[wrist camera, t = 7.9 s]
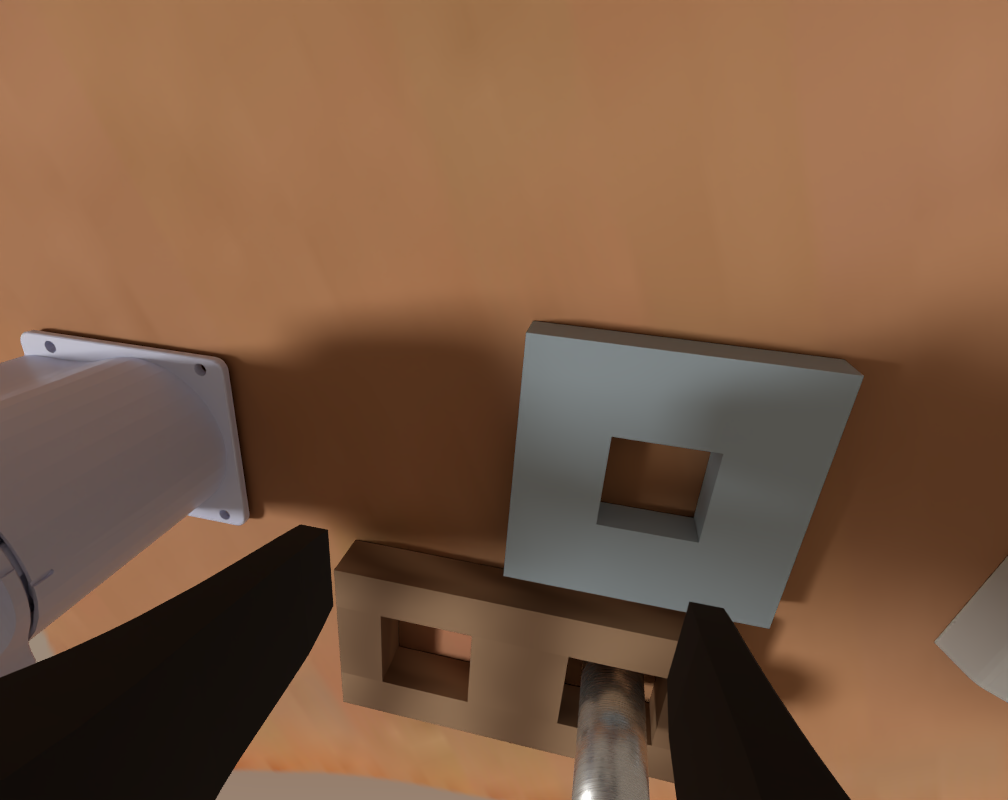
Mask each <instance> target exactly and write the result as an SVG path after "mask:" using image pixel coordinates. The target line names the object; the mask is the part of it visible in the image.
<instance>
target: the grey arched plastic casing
mask: <svg viewBox="0 0 1008 800" xmlns="http://www.w3.org/2000/svg"><path fill="white" fill-rule="evenodd" d="M934 643H935V644H936V645H937V646H938V647H939V648H940V649H941V650H942V651H943V652H944V653H945V654H946V655H947V656H948V657H949V658H950V659H951V660H952V661H953V662H954V663H955V664H956V665H957V666H958V667H959V668H960V669H961V670H962V671H963V672H964V673H965V674H966V675H967V676H968V677H969V678H970V679H971V680H972V681H974V682H975V683H976V684H977V685H978V686H980V687H982V688H983V689H985V690H986V691H988V692H990V693H992V694H993V695H995V696H997V697H999V698H1000V699H1002V700H1004V701H1006V702H1007V703H1008V556H1007V557H1006V558H1005V560H1004V561H1003V562H1002V563H1001V564H1000V566H999V567H998V568H997V569H996V570H995V571H994V573H993V574H992V575H991V576H990V577H989V578H988V580H987V581H986V582H985V583H984V584H983V585H982V587H981V588H980V589H979V590H978V591H977V592H976V594H975V595H974V596H973V597H972V598H971V599H970V601H969V602H968V603H967V604H966V605H965V606H964V608H963V609H962V610H961V611H960V612H959V613H958V615H957V616H956V617H955V618H954V619H953V620H952V622H951V623H950V624H949V625H948V626H947V628H946V629H945V630H944V631H943V632H942V633H941V635H940V636H939V637H938V638H937V639H936V640H935V642H934Z"/></svg>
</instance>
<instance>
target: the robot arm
mask: <svg viewBox="0 0 1008 800" xmlns="http://www.w3.org/2000/svg"><path fill="white" fill-rule="evenodd" d="M20 339H21V344H22V347H23V350H24V354H25V356H22V357H19V358H15V359H12V360H9V361H6V362H2V363H0V800H215V799H216V798H217V796H218V794H219V792H220V790H221V789H222V787H223V785H224V784H225V782H226V780H227V779H228V777H229V775H230V774H231V772H232V771H233V769H234V767H235V766H236V764H237V762H238V761H239V759H240V758H241V756H242V755H243V753H244V752H245V750H246V749H247V747H248V746H249V744H250V743H251V741H252V740H253V738H254V737H255V735H256V734H257V732H258V731H259V729H260V728H261V726H262V725H263V723H264V722H265V720H266V719H267V717H268V716H269V714H270V713H271V711H272V710H273V708H274V707H275V705H276V704H277V702H278V701H279V699H280V698H281V696H282V695H283V693H284V692H285V690H286V689H287V687H288V685H289V684H290V682H291V681H292V679H293V678H294V676H295V675H296V673H297V672H298V670H299V669H300V667H301V666H302V664H303V662H304V661H305V659H306V658H307V656H308V655H309V653H310V651H311V649H312V647H313V645H314V643H315V641H316V640H317V638H318V636H319V634H320V632H321V630H322V628H323V626H324V624H325V622H326V620H327V617H328V615H329V613H330V611H331V609H332V607H333V595H332V581H331V567H330V553H329V539H328V530H326V529H321V528H316V527H311V526H306V525H299V526H297V527H295V528H293V529H291V530H290V531H288V532H286V533H284V534H283V535H281V536H279V537H278V538H276V539H274V540H273V541H271V542H269V543H267V544H266V545H264V546H262V547H261V548H259V549H257V550H256V551H254V552H252V553H251V554H249V555H247V556H246V557H244V558H242V559H241V560H239V561H237V562H236V563H234V564H232V565H230V566H229V567H227V568H225V569H224V570H222V571H220V572H218V573H217V574H215V575H213V576H212V577H210V578H208V579H206V580H205V581H203V582H201V583H200V584H198V585H196V586H194V587H192V588H190V589H189V590H187V591H185V592H183V593H181V594H179V595H177V596H176V597H174V598H172V599H170V600H168V601H166V602H164V603H163V604H161V605H159V606H157V607H155V608H153V609H151V610H150V611H148V612H146V613H144V614H142V615H140V616H138V617H136V618H134V619H132V620H130V621H128V622H126V623H124V624H122V625H120V626H118V627H116V628H114V629H112V630H110V631H108V632H106V633H104V634H101V635H99V636H97V637H95V638H93V639H90V640H88V641H86V642H84V643H82V644H79V645H77V646H75V647H73V648H71V649H68V650H66V651H64V652H62V653H59V654H57V655H55V656H52V657H50V658H48V659H45V660H42V661H40V662H37V663H36V660H35V658H34V656H33V654H32V652H31V649H30V647H29V642H28V641H29V640H31V639H32V638H33V637H34V636H36V635H37V634H38V633H40V632H41V631H42V630H43V629H45V628H46V627H47V626H48V625H50V624H51V623H52V622H53V621H55V620H56V619H57V618H58V617H60V616H61V615H62V614H64V613H65V612H66V611H67V610H69V609H70V608H71V607H72V606H74V605H75V604H76V603H77V602H79V601H80V600H81V599H82V598H84V597H85V596H86V595H87V594H89V593H90V592H91V591H92V590H94V589H95V588H96V587H98V586H99V585H100V584H101V583H103V582H104V581H105V580H106V579H108V578H109V577H110V576H111V575H113V574H114V573H115V572H116V571H118V570H119V569H120V568H121V567H123V566H124V565H125V564H126V563H128V562H129V561H130V560H132V559H133V558H134V557H135V556H137V555H138V554H139V553H140V552H142V551H143V550H144V549H145V548H147V547H148V546H149V545H150V544H152V543H153V542H154V541H155V540H157V539H158V538H159V537H160V536H162V535H163V534H164V533H166V532H167V531H168V530H169V529H171V528H172V527H173V526H174V525H176V524H177V523H178V522H179V521H181V520H182V519H183V518H184V517H186V516H187V515H188V516H193V517H198V518H203V519H208V520H213V521H218V522H223V523H228V524H233V525H242V524H244V523H245V522H246V521H247V520H248V519H249V515H250V514H249V507H248V500H247V493H246V487H245V480H244V473H243V466H242V459H241V452H240V445H239V439H238V432H237V425H236V418H235V411H234V404H233V397H232V391H231V384H230V377H229V370H228V367H227V365H226V364H225V362H224V361H223V360H221V359H220V358H217V357H213V356H206V355H199V354H193V353H186V352H179V351H173V350H166V349H159V348H152V347H146V346H139V345H132V344H125V343H119V342H112V341H105V340H98V339H92V338H85V337H78V336H71V335H65V334H58V333H51V332H45V331H38V330H31V331H27V332H24V333H23V334H22V335H21V338H20ZM201 364H202V365H203V366H204V367H205V369H206V372H205V371H204V370H203V369H202V367H201ZM226 511H227V512H228V513H227V512H226ZM667 699H668V733H669V744H670V752H671V760H672V767H673V775H674V783H675V790H676V797H677V800H851V799H850V798H849V797H848V795H847V794H846V793H845V791H844V790H843V789H842V787H841V786H840V784H839V783H838V782H837V780H836V779H835V778H834V776H833V775H832V773H831V772H830V771H829V769H828V768H827V767H826V765H825V764H824V762H823V761H822V760H821V758H820V757H819V756H818V754H817V753H816V751H815V750H814V748H813V747H812V745H811V744H810V743H809V741H808V740H807V738H806V737H805V735H804V734H803V733H802V731H801V730H800V728H799V727H798V725H797V724H796V722H795V721H794V719H793V718H792V716H791V714H790V713H789V711H788V710H787V708H786V707H785V705H784V704H783V702H782V701H781V699H780V698H779V696H778V695H777V693H776V692H775V690H774V689H773V687H772V686H771V684H770V682H769V681H768V679H767V678H766V676H765V674H764V673H763V671H762V670H761V668H760V666H759V665H758V663H757V661H756V660H755V658H754V657H753V655H752V653H751V652H750V650H749V648H748V647H747V645H746V643H745V642H744V640H743V638H742V637H741V635H740V633H739V632H738V630H737V628H736V627H735V625H734V623H733V622H732V620H731V618H730V616H729V615H728V613H727V612H726V611H725V609H724V608H720V607H715V606H710V605H705V604H700V603H695V602H690V601H689V605H688V608H687V611H686V615H685V618H684V622H683V625H682V629H681V632H680V636H679V639H678V643H677V646H676V650H675V653H674V657H673V660H672V664H671V667H670V671H669V674H668V678H667Z"/></svg>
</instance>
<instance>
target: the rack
mask: <svg viewBox="0 0 1008 800" xmlns="http://www.w3.org/2000/svg"><path fill="white" fill-rule="evenodd" d="M503 574H504V569H500V568H495V567H490V566H485V565H480V564H475V563H470V562H465V561H460V560H454V559H449V558H444V557H439V556H434V555H429V554H424V553H419V552H414V551H409V550H404V549H399V548H394V547H389V546H383V545H378V544H373V543H368V542H363V541H358V540H355V541H354V543H353V544H352V546H351V547H350V548H349V550H348V551H347V553H346V554H345V555H344V557H343V558H342V560H341V561H340V562H339V564H338V565H337V567H336V568H335V569H334V577H335V591H336V605H337V619H338V633H339V647H340V661H341V675H342V689H343V702H347V703H351V704H355V705H359V706H363V707H367V708H371V709H375V710H379V711H383V712H387V713H391V714H396V715H400V716H404V717H408V718H412V719H416V720H420V721H424V722H428V723H432V724H436V725H440V726H444V727H448V728H452V729H456V730H460V731H465V732H469V733H473V734H477V735H481V736H485V737H489V738H493V739H497V740H501V741H505V742H509V743H513V744H517V745H521V746H525V747H530V748H534V749H538V750H542V751H546V752H550V753H554V754H558V755H562V756H566V757H570V758H574V759H575V752H576V739H577V726H578V713H579V700H580V687H576V686H572V685H567V684H564V680H565V675H566V669H567V663H568V657H571V658H575V659H580V660H584V661H589V662H593V663H598V664H603V665H607V666H612V667H616V668H621V669H626V670H630V671H635V672H639V673H644V674H648V675H653V676H656V679H655V683H654V687H653V690H652V694H651V698H650V702H649V703H647V702H645V715H646V736H647V758H648V777H651V778H655V779H659V780H664V781H668V782H672V783H674V775H673V767H672V760H671V752H670V744H669V733H668V699H667V678H668V674H669V671H670V667H671V664H672V660H673V657H674V653H675V650H676V646H677V643H678V639H679V636H680V632H681V629H682V625H683V622H684V618H685V615H686V612H682V611H677V610H672V609H667V608H662V607H657V606H652V605H647V604H642V603H637V602H632V601H627V600H622V599H617V598H612V597H607V596H602V595H597V594H592V593H587V592H582V591H577V590H572V589H567V588H562V587H556V586H551V585H546V584H541V583H536V582H531V581H526V580H521V579H516V578H511V577H506V576H503ZM399 620H401V621H406V622H410V623H415V624H419V625H424V626H428V627H433V628H438V629H442V630H447V631H451V632H456V633H461V634H465V635H470V636H472V643H471V658H470V662H465V661H461V660H457V659H452V658H448V657H443V656H439V655H434V654H430V653H426V652H421V651H417V650H412V649H408V648H403V647H399Z"/></svg>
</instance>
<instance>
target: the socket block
mask: <svg viewBox="0 0 1008 800" xmlns="http://www.w3.org/2000/svg"><path fill="white" fill-rule="evenodd" d="M863 377H864V376H863V375H862V374H861V373H860V372H859V371H857V370H856V369H855V368H854V367H853V366H851V365H850V364H849V363H848V362H847V361H845V360H843V359H835V358H827V357H819V356H811V355H803V354H795V353H787V352H779V351H771V350H763V349H755V348H747V347H739V346H731V345H723V344H715V343H707V342H699V341H691V340H683V339H675V338H667V337H659V336H651V335H643V334H635V333H627V332H619V331H611V330H603V329H595V328H587V327H579V326H571V325H563V324H555V323H547V322H539V321H533V322H532V323H531V325H530V327H529V329H528V330H527V332H526V340H525V351H524V361H523V372H522V383H521V393H520V404H519V415H518V425H517V436H516V447H515V457H514V468H513V478H512V489H511V500H510V510H509V521H508V532H507V542H506V553H505V564H504V574H503V576H506V577H511V578H516V579H521V580H526V581H531V582H536V583H541V584H546V585H551V586H556V587H562V588H567V589H572V590H577V591H582V592H587V593H592V594H597V595H602V596H607V597H612V598H617V599H622V600H627V601H632V602H637V603H642V604H647V605H652V606H657V607H662V608H667V609H672V610H677V611H682V612H686V611H687V608H688V605H689V601H690V602H695V603H700V604H705V605H710V606H715V607H720V608H724V609H725V611H726V612H727V613H728V615H729V616H730V618H731V620H732V622H737V623H742V624H747V625H752V626H758V627H763V628H768V629H770V626H771V623H772V621H773V618H774V615H775V613H776V610H777V607H778V605H779V602H780V599H781V597H782V594H783V591H784V588H785V586H786V583H787V580H788V578H789V575H790V572H791V570H792V567H793V564H794V562H795V559H796V556H797V554H798V551H799V548H800V546H801V543H802V540H803V538H804V535H805V532H806V530H807V527H808V524H809V522H810V519H811V516H812V514H813V511H814V508H815V506H816V503H817V500H818V498H819V495H820V492H821V490H822V487H823V484H824V482H825V479H826V476H827V474H828V471H829V468H830V466H831V463H832V460H833V457H834V455H835V452H836V449H837V447H838V444H839V441H840V439H841V436H842V433H843V431H844V428H845V425H846V423H847V420H848V417H849V415H850V412H851V409H852V407H853V404H854V401H855V399H856V396H857V393H858V391H859V388H860V385H861V383H862V380H863ZM611 437H617V438H624V439H630V440H637V441H643V442H649V443H656V444H662V445H669V446H675V447H682V448H688V449H695V450H701V451H708V452H711V454H710V457H709V461H708V465H707V469H706V472H705V476H704V480H703V484H702V488H701V491H700V495H699V499H698V503H697V506H696V510H695V514H694V518H691V517H685V516H679V515H674V514H668V513H662V512H656V511H650V510H645V509H639V508H633V507H627V506H622V505H616V504H610V503H604V502H600V500H601V494H602V489H603V483H604V477H605V472H606V466H607V460H608V455H609V449H610V443H611Z"/></svg>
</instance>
